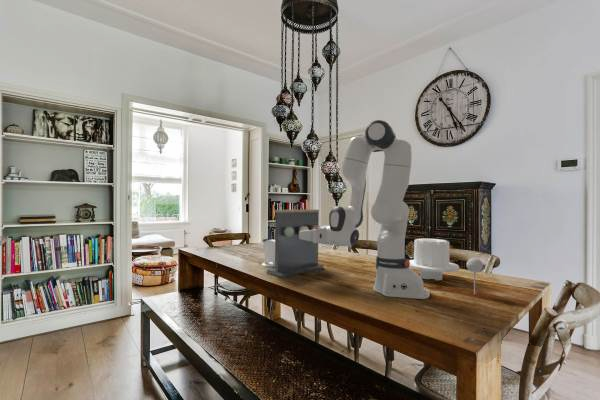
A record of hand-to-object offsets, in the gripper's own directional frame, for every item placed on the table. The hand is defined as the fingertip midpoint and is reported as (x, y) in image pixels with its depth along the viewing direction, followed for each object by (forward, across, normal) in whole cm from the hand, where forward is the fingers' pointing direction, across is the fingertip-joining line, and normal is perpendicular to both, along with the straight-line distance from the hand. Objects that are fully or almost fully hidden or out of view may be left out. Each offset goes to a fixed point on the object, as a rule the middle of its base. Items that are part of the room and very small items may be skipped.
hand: (304, 232), depth 154 cm
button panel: (+11, -7, +22) cm, 25 cm away
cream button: (+7, -7, +2) cm, 10 cm away
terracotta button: (+7, -17, +2) cm, 18 cm away
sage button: (+8, +3, +2) cm, 9 cm away
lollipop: (-70, -26, +22) cm, 78 cm away
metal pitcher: (+33, -8, +22) cm, 41 cm away
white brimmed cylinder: (-47, -44, +22) cm, 68 cm away
